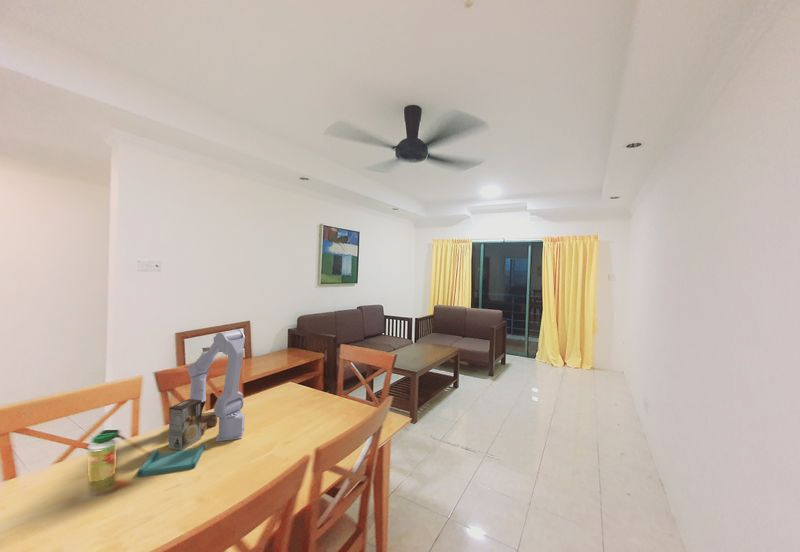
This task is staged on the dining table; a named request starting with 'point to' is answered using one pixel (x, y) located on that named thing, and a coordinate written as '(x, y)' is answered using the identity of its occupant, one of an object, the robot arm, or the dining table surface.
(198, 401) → the coffee box
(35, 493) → the dining table surface
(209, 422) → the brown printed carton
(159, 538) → the dining table surface
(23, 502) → the dining table surface
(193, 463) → the tray
